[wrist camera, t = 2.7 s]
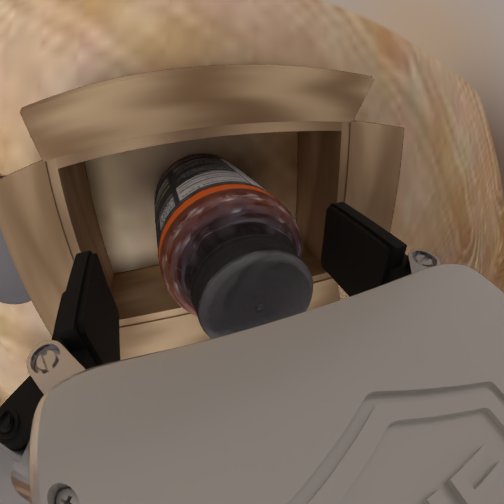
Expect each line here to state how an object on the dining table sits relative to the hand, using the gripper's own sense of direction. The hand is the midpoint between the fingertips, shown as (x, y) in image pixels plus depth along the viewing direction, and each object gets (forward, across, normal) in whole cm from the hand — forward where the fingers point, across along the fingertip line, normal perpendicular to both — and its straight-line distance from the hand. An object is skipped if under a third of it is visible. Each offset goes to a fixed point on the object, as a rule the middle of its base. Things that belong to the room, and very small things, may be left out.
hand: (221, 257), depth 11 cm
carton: (+8, -1, +1) cm, 9 cm away
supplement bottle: (+9, -1, +1) cm, 9 cm away
